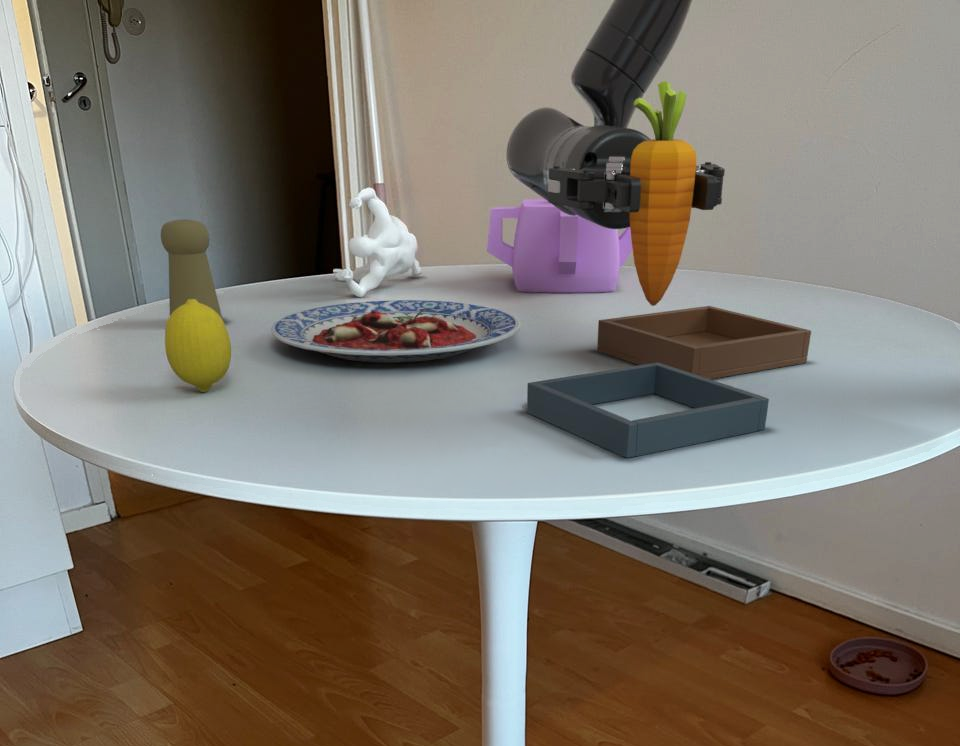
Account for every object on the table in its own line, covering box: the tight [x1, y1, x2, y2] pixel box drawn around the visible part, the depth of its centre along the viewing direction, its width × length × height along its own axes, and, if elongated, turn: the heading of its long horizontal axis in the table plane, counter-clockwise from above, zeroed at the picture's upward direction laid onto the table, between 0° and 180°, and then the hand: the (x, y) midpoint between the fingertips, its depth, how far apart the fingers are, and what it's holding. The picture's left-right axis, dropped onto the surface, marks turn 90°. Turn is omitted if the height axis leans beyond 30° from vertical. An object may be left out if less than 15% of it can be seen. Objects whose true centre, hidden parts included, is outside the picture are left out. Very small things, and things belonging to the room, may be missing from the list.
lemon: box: [164, 299, 232, 393], centre depth 88 cm, size 6×6×8 cm
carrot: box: [630, 80, 697, 307], centre depth 73 cm, size 5×5×15 cm
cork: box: [160, 218, 224, 321], centre depth 113 cm, size 6×6×11 cm
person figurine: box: [332, 187, 423, 298], centre depth 133 cm, size 13×13×18 cm
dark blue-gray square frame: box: [526, 362, 770, 459], centre depth 81 cm, size 14×14×2 cm
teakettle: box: [486, 198, 633, 294], centre depth 134 cm, size 17×17×12 cm
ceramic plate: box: [270, 299, 521, 364], centre depth 105 cm, size 26×26×3 cm
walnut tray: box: [596, 305, 812, 380], centre depth 100 cm, size 15×15×3 cm
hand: (673, 194), depth 71 cm, fingers closed on carrot, 5 cm apart
